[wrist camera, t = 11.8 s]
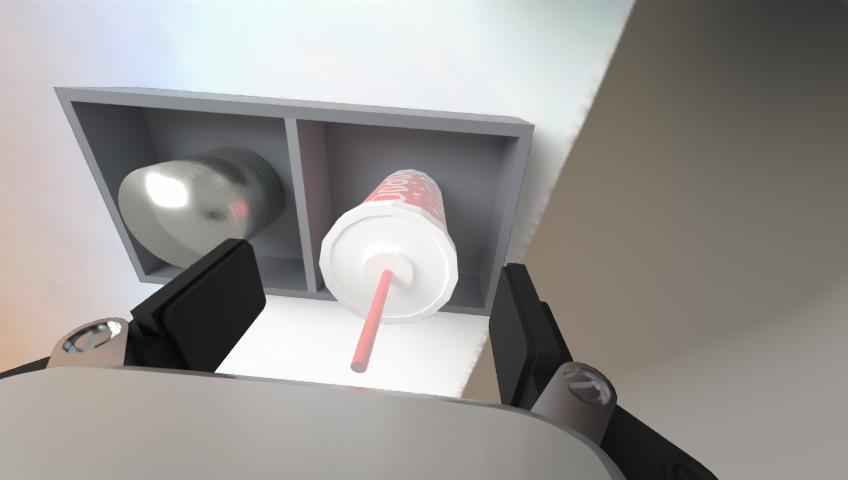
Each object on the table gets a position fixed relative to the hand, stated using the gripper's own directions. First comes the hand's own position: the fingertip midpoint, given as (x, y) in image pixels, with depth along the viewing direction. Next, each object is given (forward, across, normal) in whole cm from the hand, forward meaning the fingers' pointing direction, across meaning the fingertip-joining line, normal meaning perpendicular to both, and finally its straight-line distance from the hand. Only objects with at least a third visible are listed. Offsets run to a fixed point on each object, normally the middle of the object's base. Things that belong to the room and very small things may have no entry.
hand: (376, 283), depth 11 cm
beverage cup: (+11, 0, +1) cm, 11 cm away
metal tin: (+11, +12, +1) cm, 16 cm away
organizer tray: (+11, +6, +1) cm, 13 cm away
